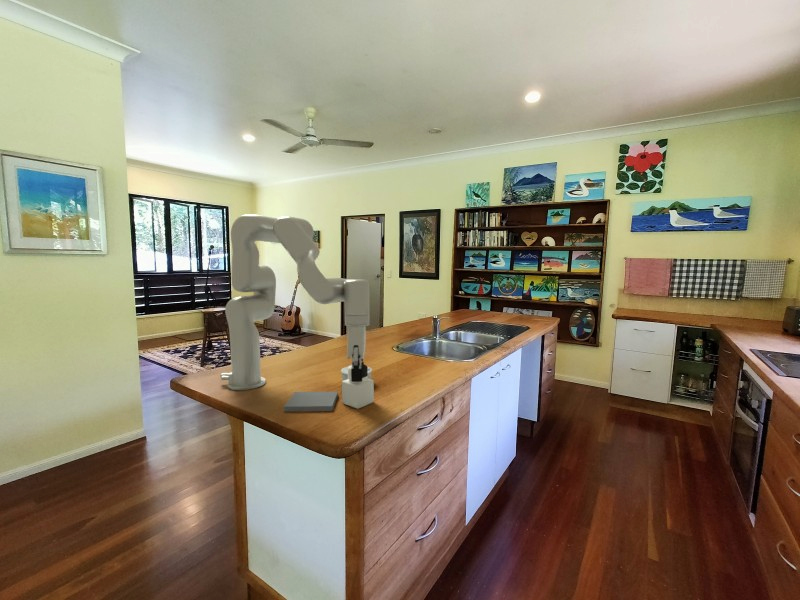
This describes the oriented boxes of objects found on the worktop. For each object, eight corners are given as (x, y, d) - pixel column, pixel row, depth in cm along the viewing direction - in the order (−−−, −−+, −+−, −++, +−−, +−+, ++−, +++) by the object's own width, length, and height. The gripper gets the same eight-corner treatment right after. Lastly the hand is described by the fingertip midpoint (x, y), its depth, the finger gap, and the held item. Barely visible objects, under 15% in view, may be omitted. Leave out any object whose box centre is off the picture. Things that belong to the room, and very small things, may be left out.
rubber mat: (284, 411, 104) (283, 406, 104) (294, 396, 116) (294, 391, 116) (332, 410, 104) (332, 406, 104) (338, 395, 116) (338, 391, 116)
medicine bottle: (358, 396, 116) (357, 360, 114) (374, 402, 111) (374, 364, 110) (341, 403, 110) (341, 365, 109) (357, 409, 106) (357, 369, 104)
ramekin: (367, 390, 122) (366, 375, 121) (336, 388, 124) (335, 373, 124) (375, 380, 133) (375, 366, 132) (347, 378, 135) (347, 364, 134)
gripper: (347, 316, 116) (348, 369, 118) (341, 324, 99) (341, 387, 101) (370, 315, 117) (371, 369, 118) (368, 324, 100) (368, 387, 101)
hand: (357, 377), depth 110 cm, fingers closed on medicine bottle, 6 cm apart
